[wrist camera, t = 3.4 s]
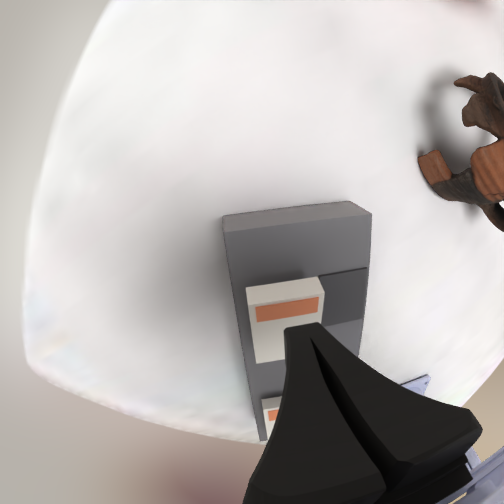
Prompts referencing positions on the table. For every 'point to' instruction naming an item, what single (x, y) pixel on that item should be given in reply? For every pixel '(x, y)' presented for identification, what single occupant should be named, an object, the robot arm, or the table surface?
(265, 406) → the block
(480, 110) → the pottery mug
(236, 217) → the power strip
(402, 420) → the robot arm
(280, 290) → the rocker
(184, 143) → the table surface
